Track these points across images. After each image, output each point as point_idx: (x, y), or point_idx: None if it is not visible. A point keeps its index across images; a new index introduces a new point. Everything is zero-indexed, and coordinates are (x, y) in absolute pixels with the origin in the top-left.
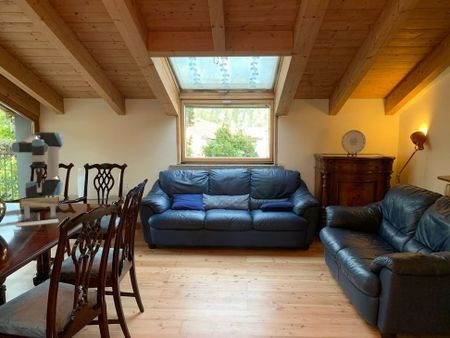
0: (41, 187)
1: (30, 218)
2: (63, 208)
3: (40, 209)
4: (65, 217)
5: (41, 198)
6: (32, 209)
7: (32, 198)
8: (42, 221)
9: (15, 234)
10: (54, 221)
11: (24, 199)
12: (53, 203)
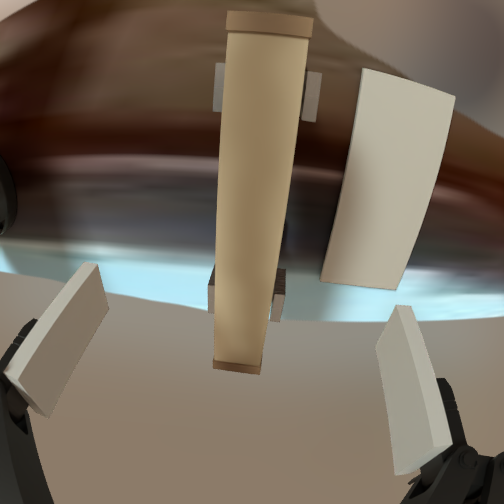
0: (80, 292)
1: None
2: (5, 44)
3: (3, 161)
4: (300, 8)
5: (270, 229)
6: (12, 199)
7: (219, 300)
8: (382, 170)
9: (494, 291)
10: (428, 111)
11: (249, 350)
12: (318, 91)
